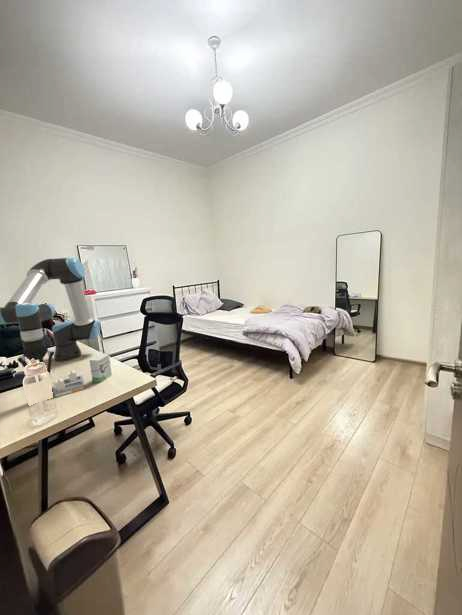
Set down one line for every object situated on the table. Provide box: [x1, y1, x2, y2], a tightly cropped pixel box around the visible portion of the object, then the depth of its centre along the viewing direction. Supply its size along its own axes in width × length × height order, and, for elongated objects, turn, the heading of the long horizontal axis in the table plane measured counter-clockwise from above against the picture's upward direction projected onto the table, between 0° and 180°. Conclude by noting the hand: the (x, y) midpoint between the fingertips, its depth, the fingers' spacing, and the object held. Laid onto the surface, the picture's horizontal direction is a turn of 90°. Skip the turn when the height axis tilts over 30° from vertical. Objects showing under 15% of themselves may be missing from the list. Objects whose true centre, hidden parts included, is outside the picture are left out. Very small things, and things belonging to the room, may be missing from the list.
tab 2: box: [67, 369, 77, 382], centre depth 123 cm, size 4×3×5 cm
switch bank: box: [52, 375, 86, 398], centre depth 120 cm, size 13×12×2 cm
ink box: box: [89, 353, 113, 383], centre depth 127 cm, size 9×5×12 cm, turn 168°
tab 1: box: [54, 377, 65, 391], centre depth 115 cm, size 4×3×5 cm
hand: (43, 389), depth 111 cm, fingers closed
